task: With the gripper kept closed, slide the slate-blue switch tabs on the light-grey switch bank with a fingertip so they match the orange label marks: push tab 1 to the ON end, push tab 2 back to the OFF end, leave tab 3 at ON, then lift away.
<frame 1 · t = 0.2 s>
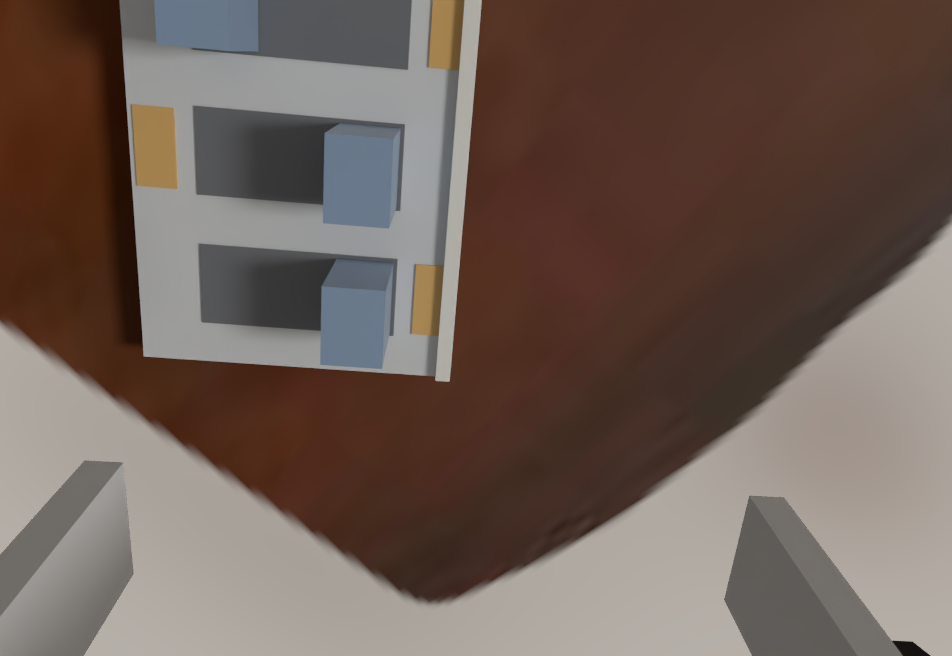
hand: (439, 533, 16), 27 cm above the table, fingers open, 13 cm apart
switch bank: (307, 154, 40), on the table
tab 3: (358, 311, 38), point 5 cm above the table, slide at 7.0 cm
tab 2: (363, 173, 36), point 5 cm above the table, slide at 7.0 cm
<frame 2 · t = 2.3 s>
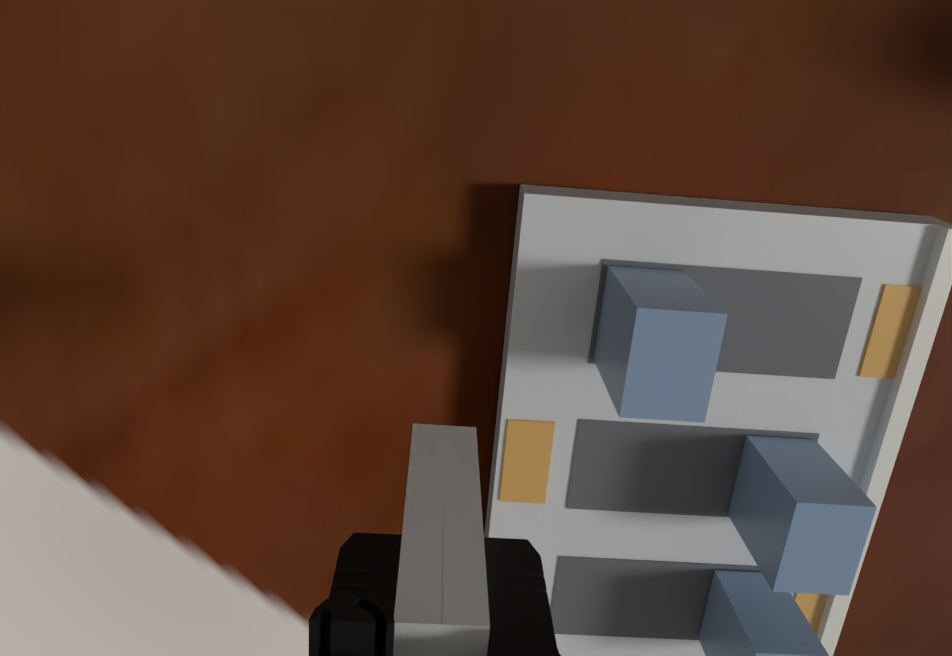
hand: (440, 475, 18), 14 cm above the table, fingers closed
switch bank: (677, 447, 34), on the table
tab 3: (758, 646, 33), point 5 cm above the table, slide at 7.0 cm
tab 2: (795, 511, 30), point 5 cm above the table, slide at 7.0 cm
tab 1: (653, 339, 27), point 5 cm above the table, slide at 0.0 cm
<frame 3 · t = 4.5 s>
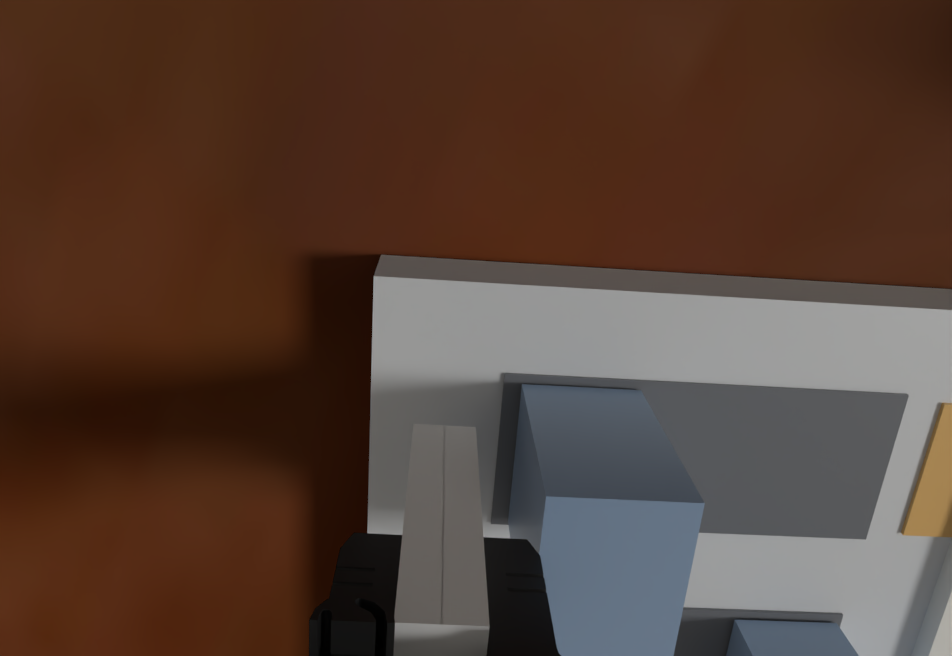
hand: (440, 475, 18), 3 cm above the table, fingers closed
switch bank: (637, 618, 24), on the table
tab 1: (589, 513, 17), point 5 cm above the table, slide at 0.3 cm, touching gripper
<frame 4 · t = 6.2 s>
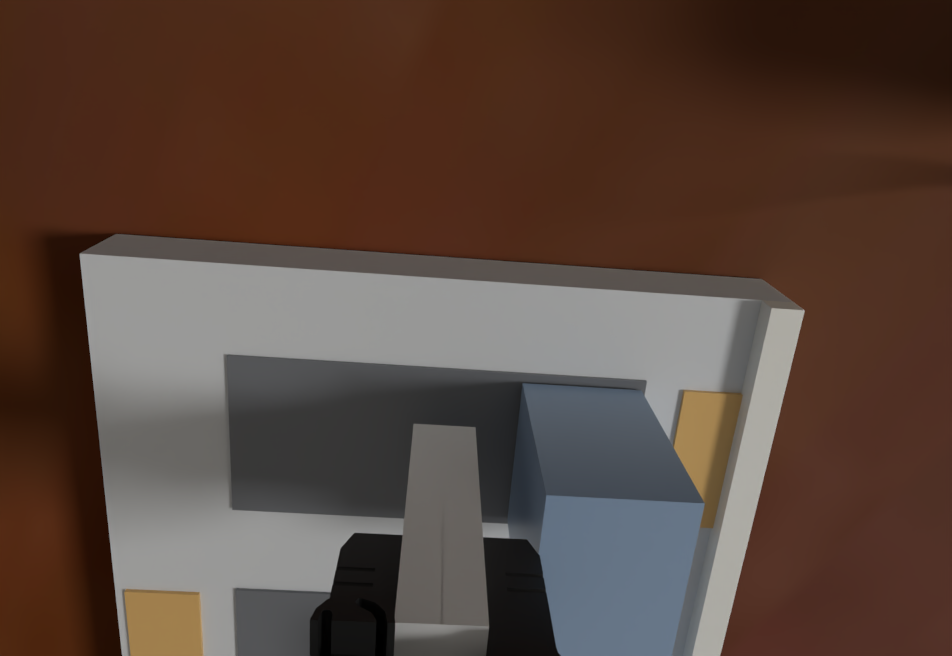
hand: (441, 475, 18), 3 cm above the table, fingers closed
switch bank: (422, 609, 24), on the table
tab 1: (588, 512, 17), point 5 cm above the table, slide at 7.1 cm, touching gripper
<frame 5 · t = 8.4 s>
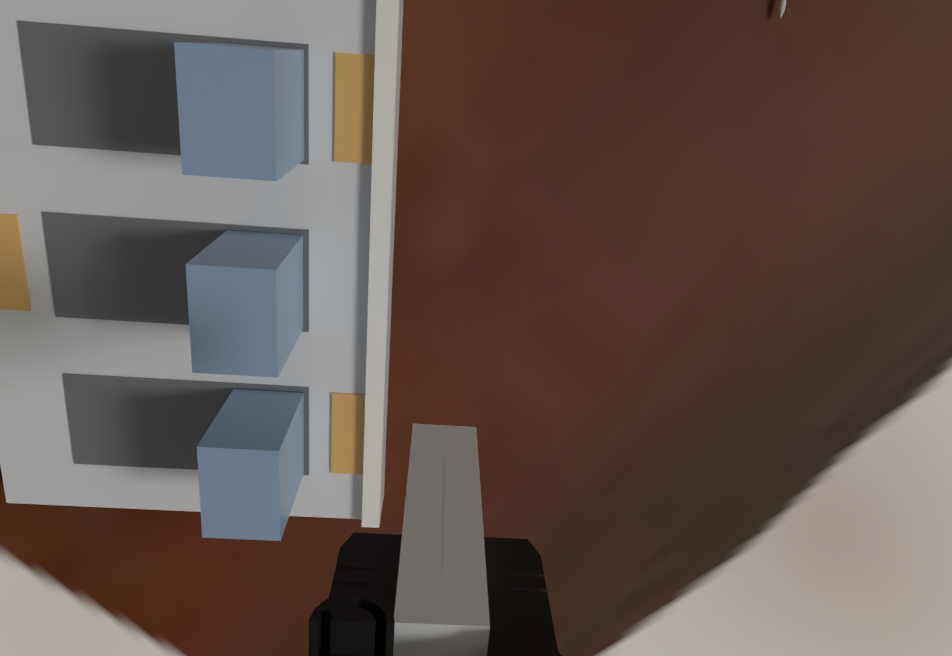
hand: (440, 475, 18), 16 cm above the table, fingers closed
switch bank: (196, 260, 32), on the table
tab 3: (255, 461, 31), point 5 cm above the table, slide at 7.0 cm
tab 2: (251, 299, 28), point 5 cm above the table, slide at 7.0 cm
tab 1: (247, 107, 26), point 5 cm above the table, slide at 7.1 cm
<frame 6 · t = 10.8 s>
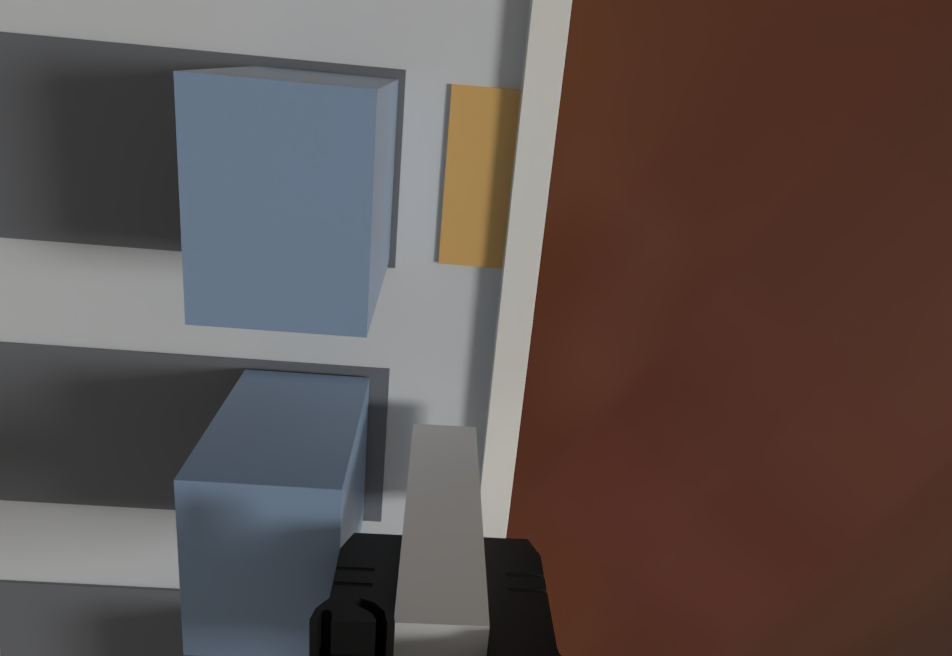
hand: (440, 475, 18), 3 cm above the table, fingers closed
switch bank: (203, 399, 21), on the table
tab 2: (286, 501, 16), point 5 cm above the table, slide at 6.7 cm, touching gripper
tab 1: (305, 186, 14), point 5 cm above the table, slide at 7.1 cm
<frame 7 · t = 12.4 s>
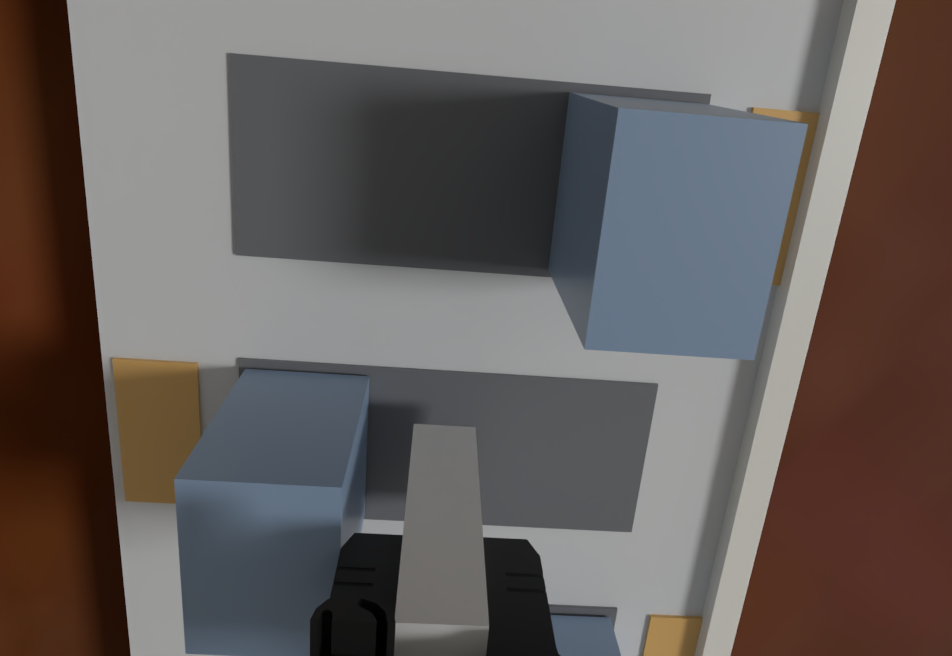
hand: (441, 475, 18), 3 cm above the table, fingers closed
switch bank: (446, 413, 21), on the table
tab 2: (287, 500, 17), point 5 cm above the table, slide at 0.0 cm, touching gripper
tab 1: (651, 211, 15), point 5 cm above the table, slide at 7.1 cm
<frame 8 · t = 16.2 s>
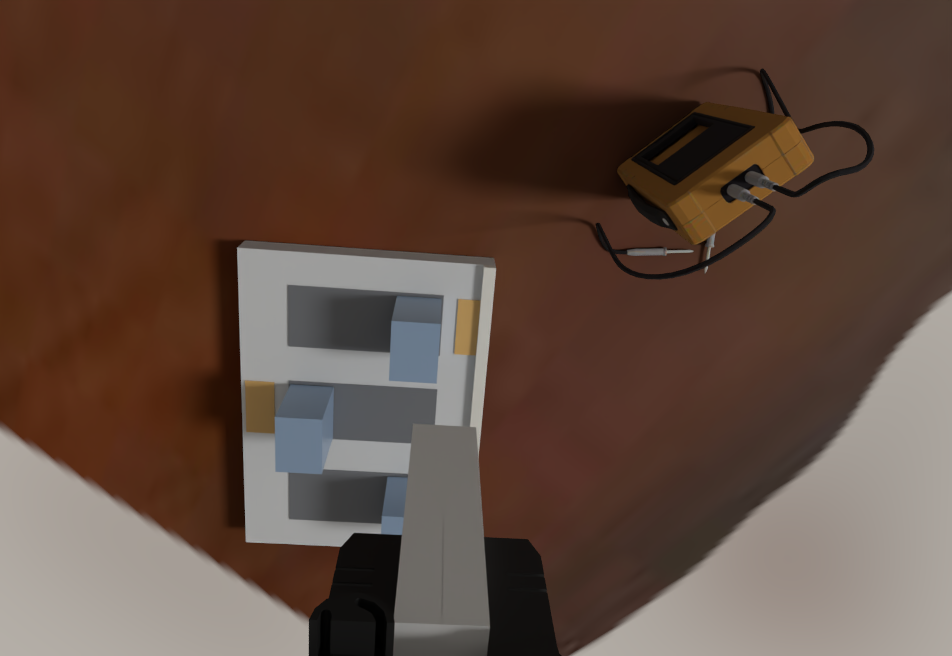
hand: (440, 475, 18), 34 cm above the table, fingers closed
switch bank: (365, 400, 55), on the table
tab 3: (404, 520, 53), point 5 cm above the table, slide at 7.0 cm
tab 2: (305, 427, 50), point 5 cm above the table, slide at 0.0 cm
multimeter: (697, 192, 51), on the table
tab 1: (416, 338, 48), point 5 cm above the table, slide at 7.1 cm
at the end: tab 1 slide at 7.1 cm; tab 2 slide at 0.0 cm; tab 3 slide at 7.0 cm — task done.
